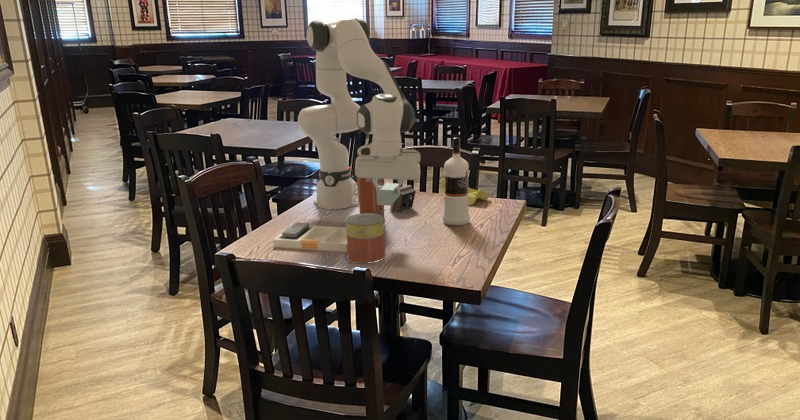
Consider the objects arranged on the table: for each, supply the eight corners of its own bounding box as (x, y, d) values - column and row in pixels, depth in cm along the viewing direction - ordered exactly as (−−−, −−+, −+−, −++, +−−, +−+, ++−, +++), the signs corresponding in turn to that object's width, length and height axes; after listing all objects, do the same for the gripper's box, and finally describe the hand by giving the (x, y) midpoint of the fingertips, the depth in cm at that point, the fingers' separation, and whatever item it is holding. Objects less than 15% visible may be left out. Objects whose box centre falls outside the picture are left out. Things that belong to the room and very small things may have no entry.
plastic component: (491, 194, 236) (478, 188, 229) (485, 212, 236) (471, 206, 229) (453, 183, 250) (439, 177, 242) (447, 200, 250) (433, 194, 242)
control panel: (387, 222, 212) (377, 236, 198) (368, 222, 214) (356, 235, 200) (385, 163, 206) (374, 173, 192) (365, 162, 208) (353, 172, 194)
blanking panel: (386, 195, 194) (385, 183, 193) (399, 195, 193) (399, 183, 192) (376, 204, 184) (376, 192, 183) (391, 205, 183) (390, 192, 182)
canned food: (367, 247, 188) (365, 210, 185) (393, 255, 181) (391, 217, 177) (339, 257, 181) (337, 219, 177) (365, 266, 173) (363, 227, 170)
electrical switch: (406, 206, 232) (407, 183, 229) (416, 209, 229) (417, 186, 226) (389, 212, 225) (390, 188, 222) (399, 215, 222) (400, 191, 219)
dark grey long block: (297, 233, 201) (296, 222, 200) (309, 234, 200) (308, 223, 199) (283, 244, 191) (282, 233, 190) (296, 245, 190) (295, 233, 189)
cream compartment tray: (293, 232, 204) (293, 223, 203) (362, 237, 198) (361, 227, 197) (273, 248, 190) (272, 238, 189) (346, 253, 184) (346, 243, 183)
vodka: (449, 217, 217) (449, 134, 208) (473, 220, 212) (474, 136, 204) (438, 224, 209) (438, 138, 200) (463, 228, 204) (463, 140, 196)
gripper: (422, 147, 184) (422, 191, 188) (358, 145, 189) (360, 188, 193) (418, 151, 178) (418, 196, 182) (352, 149, 183) (354, 193, 187)
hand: (388, 192), depth 188 cm, fingers closed on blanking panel, 4 cm apart
